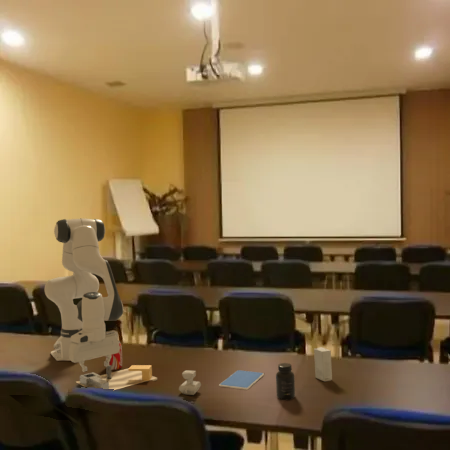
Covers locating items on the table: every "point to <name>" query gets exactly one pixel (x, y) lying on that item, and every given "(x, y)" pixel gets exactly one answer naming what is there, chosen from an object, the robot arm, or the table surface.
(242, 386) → the blue notebook
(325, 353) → the skincare box
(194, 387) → the stamp
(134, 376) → the board
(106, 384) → the link
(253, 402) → the table surface
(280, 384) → the supplement bottle
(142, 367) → the block
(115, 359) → the soda can
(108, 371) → the pintle
